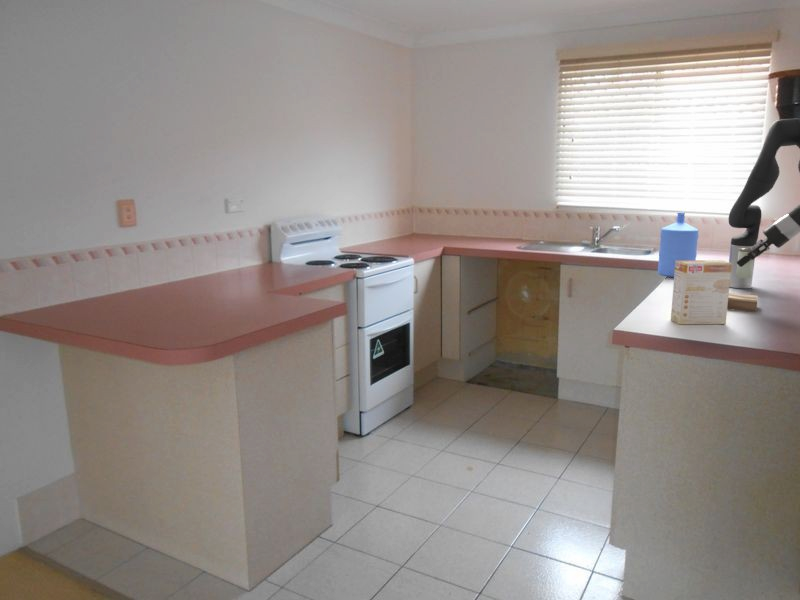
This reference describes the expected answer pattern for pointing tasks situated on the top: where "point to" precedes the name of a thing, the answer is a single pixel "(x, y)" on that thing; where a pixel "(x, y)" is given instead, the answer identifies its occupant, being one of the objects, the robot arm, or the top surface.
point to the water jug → (676, 245)
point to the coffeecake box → (701, 291)
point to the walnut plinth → (742, 302)
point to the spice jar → (745, 269)
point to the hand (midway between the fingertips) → (739, 263)
